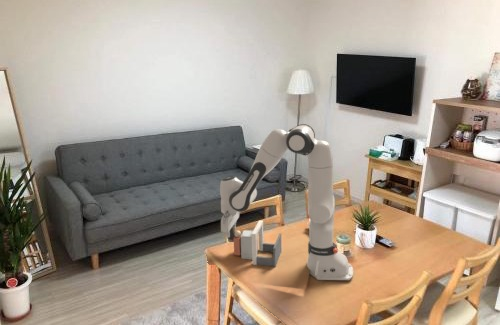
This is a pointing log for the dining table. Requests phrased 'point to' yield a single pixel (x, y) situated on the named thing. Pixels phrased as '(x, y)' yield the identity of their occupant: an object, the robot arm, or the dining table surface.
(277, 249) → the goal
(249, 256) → the supplement box
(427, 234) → the dining table surface
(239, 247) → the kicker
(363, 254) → the dining table surface
